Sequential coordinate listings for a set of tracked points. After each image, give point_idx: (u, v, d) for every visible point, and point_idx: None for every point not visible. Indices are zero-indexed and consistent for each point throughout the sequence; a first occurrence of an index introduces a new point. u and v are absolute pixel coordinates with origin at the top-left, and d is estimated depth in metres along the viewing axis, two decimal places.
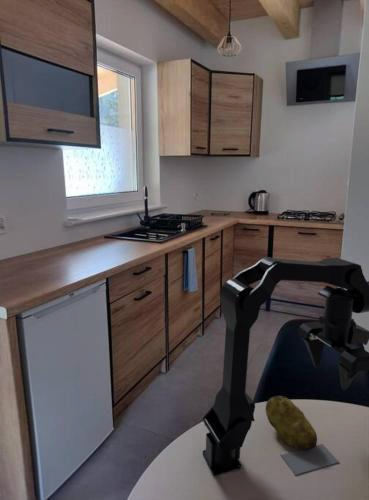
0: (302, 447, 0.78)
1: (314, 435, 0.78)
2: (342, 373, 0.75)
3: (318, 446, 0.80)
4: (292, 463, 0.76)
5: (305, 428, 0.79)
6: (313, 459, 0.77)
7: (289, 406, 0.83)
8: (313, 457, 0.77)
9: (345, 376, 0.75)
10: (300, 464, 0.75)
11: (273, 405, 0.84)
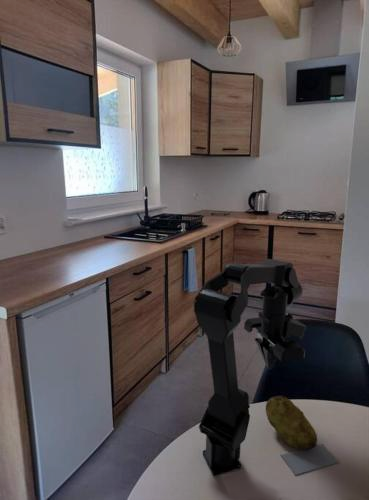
0: (302, 447, 0.78)
1: (314, 435, 0.78)
2: (266, 354, 0.87)
3: (318, 446, 0.80)
4: (292, 463, 0.76)
5: (305, 428, 0.79)
6: (313, 459, 0.77)
7: (289, 406, 0.83)
8: (313, 457, 0.77)
9: (268, 357, 0.87)
10: (300, 464, 0.75)
11: (273, 405, 0.84)
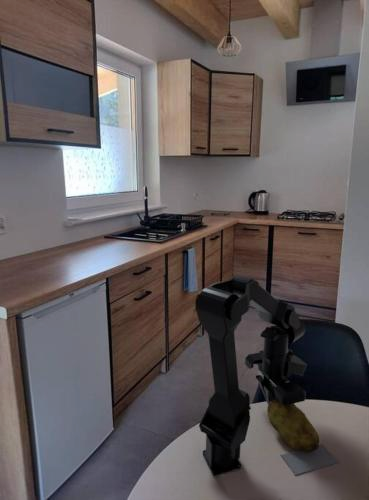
0: (304, 449, 0.77)
1: (316, 437, 0.78)
2: (266, 393, 0.87)
3: None
4: (292, 463, 0.76)
5: (307, 429, 0.78)
6: (313, 459, 0.77)
7: (291, 407, 0.82)
8: (313, 457, 0.77)
9: (269, 396, 0.88)
10: (300, 464, 0.75)
11: (274, 407, 0.83)
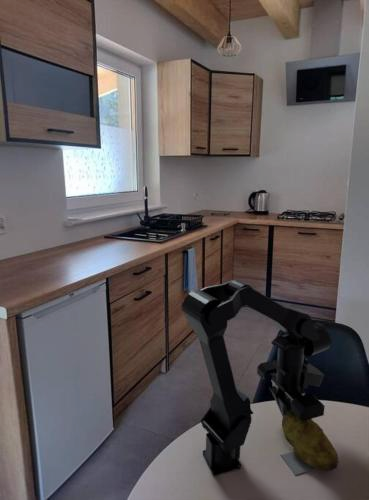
0: (322, 468, 0.73)
1: (335, 455, 0.73)
2: (281, 405, 0.82)
3: None
4: (292, 463, 0.76)
5: (325, 447, 0.73)
6: None
7: (308, 422, 0.77)
8: None
9: (284, 408, 0.82)
10: (300, 464, 0.75)
11: (290, 421, 0.78)
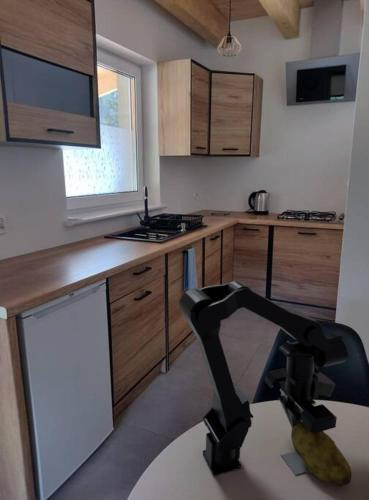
0: (335, 483, 0.69)
1: (349, 469, 0.69)
2: (290, 416, 0.79)
3: None
4: (292, 463, 0.76)
5: (338, 461, 0.70)
6: None
7: (319, 434, 0.74)
8: None
9: (293, 418, 0.79)
10: (300, 464, 0.75)
11: (300, 433, 0.75)
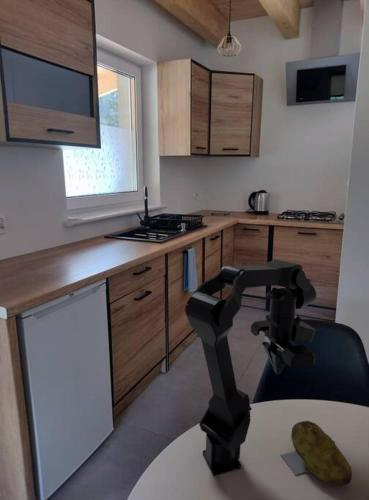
0: (335, 483, 0.69)
1: (349, 470, 0.69)
2: (274, 359, 0.83)
3: None
4: (292, 463, 0.76)
5: (338, 461, 0.70)
6: None
7: (319, 434, 0.74)
8: None
9: (276, 362, 0.83)
10: (300, 464, 0.75)
11: (300, 433, 0.75)
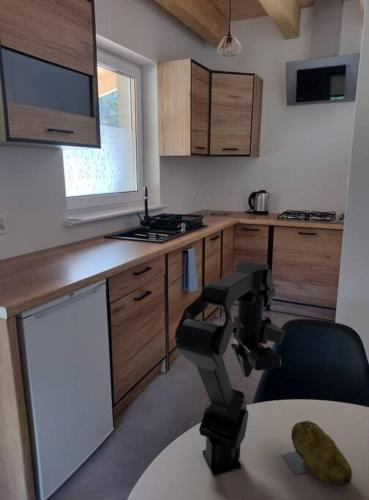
0: (335, 483, 0.69)
1: (349, 470, 0.69)
2: (241, 361, 0.82)
3: None
4: (292, 463, 0.76)
5: (338, 461, 0.70)
6: None
7: (319, 434, 0.74)
8: None
9: (244, 364, 0.82)
10: (300, 464, 0.75)
11: (300, 433, 0.75)
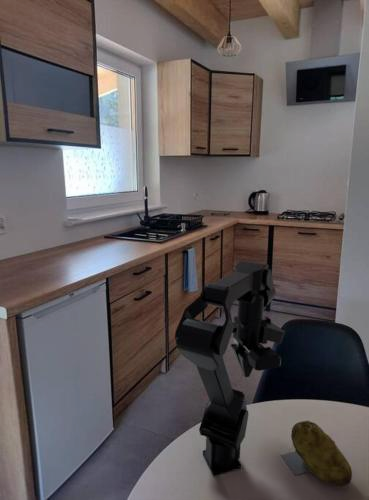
0: (335, 483, 0.69)
1: (349, 470, 0.69)
2: (241, 361, 0.82)
3: None
4: (292, 463, 0.76)
5: (338, 461, 0.70)
6: None
7: (319, 434, 0.74)
8: None
9: (244, 364, 0.82)
10: (300, 464, 0.75)
11: (300, 433, 0.75)
